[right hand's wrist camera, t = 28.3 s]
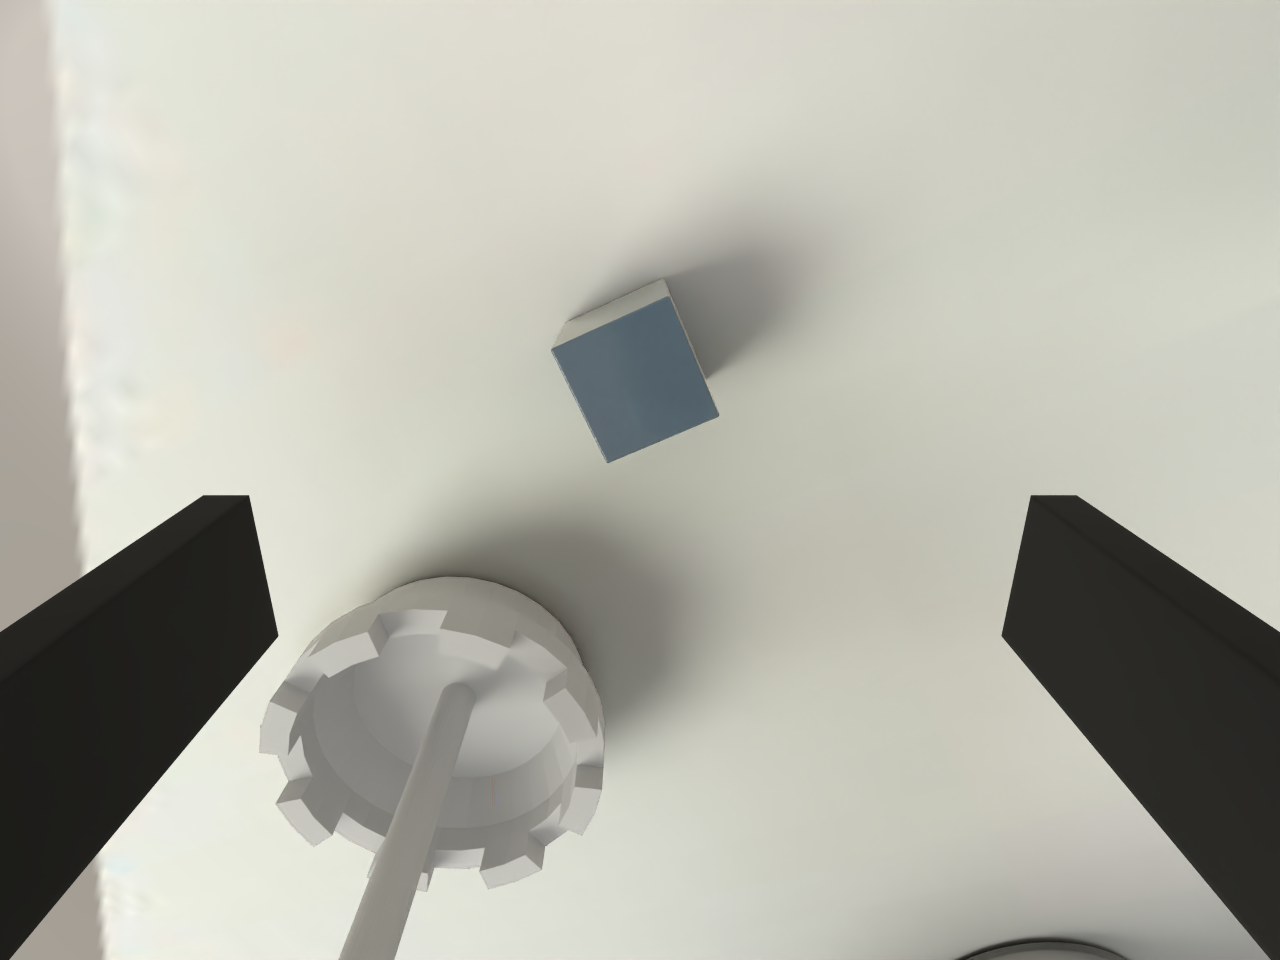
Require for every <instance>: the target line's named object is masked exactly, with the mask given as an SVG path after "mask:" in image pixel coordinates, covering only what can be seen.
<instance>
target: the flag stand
mask: <svg viewBox="0 0 1280 960" xmlns="http://www.w3.org/2000/svg"><path fill="white" fill-rule="evenodd" d="M604 742H605V719H604V715H603V710H602V705H601V701H600V697H599V695H598V693H597V690H596V688H595V686H594V684H593V682H592V680H591V678H590V676H589V673H588V672H587V671H586V669H585V668H584V667H583V666H582V661H581V657H580V655H579V653H578V651H577V649H576V647H575V645H574V642H573V640H572V638H571V637H570V636H569V634H568V633H567V632H566V630H565V629H564V628H563V626H562V625H561V624H560V623H559V621H558V620H557V619H556V618H555V617H553V616H552V615H551V614H550V613H549V612H548V611H547V610H546V609H544V608H543V607H542V606H541V605H540V604H538V603H536V602H535V601H533V600H531V599H530V598H528V597H527V596H525V595H523V594H522V593H520V592H518V591H515V590H513V589H510V588H508V587H505V586H502V585H500V584H497V583H494V582H489V581H485V580H480V579H475V578H469V577H438V578H431V579H424V580H419V581H416V582H413V583H410V584H407V585H404V586H401V587H398V588H396V589H394V590H392V591H390V592H389V593H387V594H385V595H383V596H382V597H380V598H378V599H377V600H376V601H375V602H372V603H369V604H366V605H363V606H360V607H358V608H356V609H354V610H352V611H351V612H349V613H347V614H345V615H344V616H342V617H340V618H338V619H337V620H335V621H333V622H332V623H331V624H330V625H329V626H327V627H326V628H325V629H324V630H323V631H322V632H321V633H320V634H319V635H318V636H316V637H315V638H314V639H313V640H312V641H311V643H310V644H309V645H308V647H307V648H306V650H305V651H304V652H303V654H302V655H301V657H300V658H299V659H298V661H297V662H296V664H295V665H294V667H293V668H292V670H291V671H290V673H289V674H288V676H287V677H286V679H285V680H284V682H283V683H282V684H281V686H280V687H279V689H278V690H277V692H276V693H275V694H274V696H273V697H272V699H271V700H270V701H269V704H268V707H267V710H266V713H265V716H264V719H263V722H262V725H261V732H260V748H259V753H264V754H274V755H278V759H279V761H280V763H281V766H282V768H283V770H284V772H285V775H286V777H287V779H288V783H287V785H286V787H285V788H284V790H283V792H282V794H281V795H280V797H279V799H278V800H277V802H276V805H277V807H278V808H279V809H280V811H281V812H282V814H283V815H284V816H285V818H286V819H287V820H288V822H289V823H290V825H291V826H292V827H293V828H294V829H295V830H296V831H297V832H298V833H299V834H300V835H301V836H302V837H303V838H304V839H306V840H307V841H308V842H309V843H310V844H311V845H312V846H313V847H314V846H316V845H318V844H319V843H321V842H322V841H324V840H325V839H327V838H329V837H330V836H332V835H333V832H334V831H336V832H337V833H339V834H340V835H342V836H343V837H345V838H346V839H347V840H349V841H351V842H353V843H355V844H357V845H359V846H361V847H363V848H365V849H367V850H369V851H372V852H374V853H376V854H375V857H374V859H373V862H372V864H371V867H370V870H369V872H368V875H367V878H370V879H369V882H368V885H367V887H366V890H365V892H364V895H363V898H362V900H361V903H360V905H359V908H358V910H357V913H356V916H355V918H354V921H353V923H352V926H351V929H350V931H349V934H348V936H347V939H346V942H345V944H344V947H343V949H342V952H341V955H340V957H339V960H394V959H395V955H396V952H397V949H398V946H399V943H400V940H401V936H402V933H403V930H404V927H405V924H406V920H407V917H408V914H409V911H410V908H411V904H412V901H413V898H414V895H415V892H416V890H419V891H425V892H427V890H428V887H429V884H430V880H431V877H432V873H433V870H434V868H458V869H466V868H474V867H480V874H481V876H482V878H483V880H484V882H485V884H486V886H487V888H488V889H491V888H494V887H498V886H502V885H506V884H509V883H513V882H516V881H519V880H521V879H523V878H525V877H527V876H530V875H532V874H534V873H536V872H538V871H541V870H542V865H543V857H544V850H545V846H546V845H548V844H549V843H551V842H552V841H553V840H555V839H556V838H558V837H559V836H560V835H562V834H563V833H565V832H566V831H567V830H570V831H572V832H574V833H577V834H579V835H581V836H582V835H583V833H584V831H585V829H586V828H587V826H588V824H589V823H590V821H591V819H592V818H593V816H594V814H595V811H596V808H597V804H598V801H599V798H600V794H601V791H602V779H603V762H604Z"/></svg>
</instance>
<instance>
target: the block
mask: <svg viewBox="0 0 1280 960" xmlns="http://www.w3.org/2000/svg"><path fill="white" fill-rule="evenodd" d="M551 352H552V354H553V356H554V358H555V360H556V362H557V364H558V366H559V368H560V370H561V372H562V374H563V376H564V378H565V380H566V382H567V384H568V386H569V388H570V390H571V392H572V394H573V396H574V398H575V400H576V402H577V404H578V406H579V408H580V410H581V412H582V414H583V416H584V418H585V420H586V422H587V424H588V426H589V428H590V430H591V432H592V434H593V436H594V438H595V440H596V442H597V444H598V446H599V448H600V450H601V452H602V454H603V456H604V459H605V461H606V462H607V463H610V462H612V461H615V460H617V459H619V458H622V457H624V456H626V455H629V454H631V453H634V452H636V451H638V450H641V449H643V448H645V447H648V446H650V445H652V444H655V443H657V442H660V441H662V440H664V439H667V438H669V437H671V436H674V435H676V434H679V433H681V432H683V431H686V430H688V429H690V428H693V427H695V426H698V425H700V424H702V423H705V422H707V421H709V420H712V419H714V418H716V417H718V416H719V412H718V410H717V407H716V404H715V401H714V399H713V396H712V393H711V390H710V388H709V385H708V382H707V379H706V377H705V375H704V372H703V370H702V367H701V365H700V363H699V360H698V358H697V356H696V353H695V351H694V348H693V346H692V344H691V341H690V339H689V337H688V334H687V332H686V329H685V327H684V325H683V322H682V320H681V318H680V315H679V313H678V310H677V308H676V306H675V303H674V301H673V298H672V296H671V294H670V291H669V289H668V287H667V284H666V282H665V279H664V278H662V279H659V280H657V281H655V282H653V283H651V284H648V285H646V286H644V287H642V288H640V289H638V290H635V291H633V292H631V293H629V294H627V295H625V296H622V297H620V298H618V299H616V300H614V301H611V302H609V303H607V304H605V305H603V306H601V307H598V308H596V309H594V310H592V311H590V312H587V313H585V314H583V315H581V316H579V317H577V318H574V319H572V320H570V321H568V322H566V323H565V324H564V326H563V328H562V329H561V331H560V333H559V335H558V337H557V339H556V341H555V343H554V345H553V347H552V349H551Z"/></svg>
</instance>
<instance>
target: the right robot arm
mask: <svg viewBox="0 0 1280 960" xmlns="http://www.w3.org/2000/svg"><path fill="white" fill-rule="evenodd" d="M277 637H278V631H277V627H276V622H275V617H274V612H273V607H272V603H271V598H270V593H269V588H268V584H267V579H266V574H265V569H264V565H263V560H262V555H261V550H260V545H259V541H258V536H257V531H256V526H255V522H254V517H253V512H252V507H251V502H250V498H249V495H203V496H202V497H200V498H199V499H197V500H196V501H194V502H193V503H191V504H190V505H188V506H187V507H185V508H184V509H182V510H181V511H179V512H178V513H177V514H175V515H174V516H172V517H171V518H169V519H168V520H166V521H165V522H163V523H162V524H160V525H159V526H157V527H156V528H154V529H153V530H151V531H150V532H148V533H147V534H145V535H144V536H142V537H141V538H139V539H138V540H136V541H135V542H133V543H132V544H130V545H129V546H128V547H126V548H125V549H123V550H122V551H120V552H119V553H117V554H116V555H114V556H113V557H111V558H110V559H108V560H107V561H105V562H104V563H102V564H101V565H99V566H98V567H96V568H95V569H93V570H92V571H90V572H89V573H87V574H86V575H84V576H83V577H81V578H80V579H79V580H77V581H76V582H74V583H73V584H71V585H70V586H68V587H67V588H65V589H64V590H62V591H61V592H59V593H58V594H56V595H55V596H53V597H52V598H50V599H49V600H47V601H46V602H44V603H43V604H41V605H40V606H38V607H37V608H36V609H34V610H32V611H31V612H29V613H28V614H27V615H25V616H24V617H22V618H21V619H19V620H18V621H16V622H15V623H13V624H12V625H10V626H9V627H7V628H6V629H4V630H3V631H1V632H0V960H9V959H10V958H11V957H12V956H13V955H14V953H15V952H16V951H17V950H18V948H19V947H20V946H21V945H22V944H23V942H24V941H25V940H26V939H27V938H28V936H29V935H30V934H31V933H32V932H33V930H34V929H35V928H36V927H37V926H38V924H39V923H40V922H41V921H42V920H43V918H44V917H45V916H46V915H47V914H48V912H49V911H50V910H51V909H52V908H53V906H54V905H55V904H56V903H57V902H58V900H59V899H60V898H61V897H62V896H63V894H64V893H65V892H66V891H67V890H68V888H69V887H70V886H71V885H72V884H73V882H74V881H75V880H76V879H77V877H78V876H79V875H80V874H81V873H82V872H83V870H84V869H85V868H86V867H87V866H88V864H89V863H90V862H91V861H92V860H93V858H94V857H95V856H96V855H97V854H98V852H99V851H100V850H101V849H102V848H103V846H104V845H105V844H106V843H107V842H108V840H109V839H110V838H111V837H112V836H113V834H114V833H115V832H116V831H117V830H118V828H119V827H120V826H121V825H122V823H123V822H124V821H125V820H126V819H127V817H128V816H129V815H130V814H131V813H132V811H133V810H134V809H135V808H136V807H137V805H138V804H139V803H140V802H141V801H142V799H143V798H144V797H145V796H146V795H147V793H148V792H149V791H150V790H151V789H152V787H153V786H154V785H155V784H156V783H157V781H158V780H159V779H160V778H161V777H162V775H163V774H164V773H165V772H166V771H167V769H168V768H169V767H170V766H171V765H172V763H173V762H174V761H175V760H176V759H177V757H178V756H179V755H180V754H181V753H182V751H183V750H184V749H185V748H186V747H187V745H188V744H189V743H190V742H191V741H192V739H193V738H194V737H195V736H196V735H197V733H198V732H199V731H200V730H201V729H202V727H203V726H204V725H205V724H206V723H207V721H208V720H209V719H210V718H211V717H212V715H213V714H214V713H215V712H216V710H217V709H218V708H219V707H220V706H221V704H222V703H223V702H224V701H225V700H226V698H227V697H228V696H229V695H230V694H231V692H232V691H233V690H234V689H235V688H236V686H237V685H238V684H239V683H240V682H241V680H242V679H243V678H244V677H245V676H246V674H247V673H248V672H249V671H250V670H251V668H252V667H253V666H254V665H255V664H256V662H257V661H258V660H259V659H260V658H261V656H262V655H263V654H264V653H265V652H266V650H267V649H268V648H269V647H270V646H271V644H272V643H273V642H274V641H275V640H276V638H277ZM1002 637H1003V638H1004V640H1005V641H1006V642H1007V643H1008V644H1009V646H1010V647H1011V648H1012V649H1013V650H1014V652H1015V653H1016V654H1017V655H1018V656H1019V658H1020V659H1021V660H1022V661H1023V662H1024V664H1025V665H1026V666H1027V667H1028V668H1029V670H1030V671H1031V672H1032V673H1033V674H1034V676H1035V677H1036V678H1037V679H1038V680H1039V682H1040V683H1041V684H1042V685H1043V686H1044V688H1045V689H1046V690H1047V691H1048V692H1049V694H1050V695H1051V696H1052V697H1053V698H1054V700H1055V701H1056V702H1057V703H1058V704H1059V706H1060V707H1061V708H1062V709H1063V710H1064V712H1065V713H1066V714H1067V715H1068V717H1069V718H1070V719H1071V720H1072V721H1073V723H1074V724H1075V725H1076V726H1077V727H1078V729H1079V730H1080V731H1081V732H1082V733H1083V735H1084V736H1085V737H1086V738H1087V739H1088V741H1089V742H1090V743H1091V744H1092V745H1093V747H1094V748H1095V749H1096V750H1097V751H1098V753H1099V754H1100V755H1101V756H1102V757H1103V759H1104V760H1105V761H1106V762H1107V763H1108V765H1109V766H1110V767H1111V768H1112V769H1113V771H1114V772H1115V773H1116V774H1117V775H1118V777H1119V778H1120V779H1121V780H1122V781H1123V783H1124V784H1125V785H1126V786H1127V787H1128V789H1129V790H1130V791H1131V792H1132V793H1133V795H1134V796H1135V797H1136V798H1137V799H1138V801H1139V802H1140V803H1141V804H1142V805H1143V807H1144V808H1145V809H1146V810H1147V811H1148V813H1149V814H1150V815H1151V816H1152V817H1153V819H1154V820H1155V821H1156V822H1157V823H1158V825H1159V826H1160V827H1161V828H1162V830H1163V831H1164V832H1165V833H1166V834H1167V836H1168V837H1169V838H1170V839H1171V840H1172V842H1173V843H1174V844H1175V845H1176V846H1177V848H1178V849H1179V850H1180V851H1181V852H1182V854H1183V855H1184V856H1185V857H1186V858H1187V860H1188V861H1189V862H1190V863H1191V864H1192V866H1193V867H1194V868H1195V869H1196V870H1197V872H1198V873H1199V874H1200V875H1201V876H1202V878H1203V879H1204V880H1205V881H1206V882H1207V884H1208V885H1209V886H1210V887H1211V888H1212V890H1213V891H1214V892H1215V893H1216V894H1217V896H1218V897H1219V898H1220V899H1221V900H1222V902H1223V903H1224V904H1225V905H1226V906H1227V908H1228V909H1229V910H1230V911H1231V912H1232V914H1233V915H1234V916H1235V917H1236V918H1237V920H1238V921H1239V922H1240V923H1241V924H1242V926H1243V927H1244V928H1245V929H1246V930H1247V932H1248V933H1249V934H1250V935H1251V936H1252V938H1253V939H1254V940H1255V941H1256V942H1257V944H1258V945H1259V946H1260V947H1261V949H1262V950H1263V951H1264V952H1265V953H1266V955H1267V956H1268V957H1269V958H1270V959H1271V960H1280V632H1279V631H1277V630H1276V629H1274V628H1273V627H1271V626H1270V625H1268V624H1267V623H1265V622H1264V621H1262V620H1261V619H1259V618H1258V617H1256V616H1255V615H1253V614H1252V613H1251V612H1249V611H1248V610H1246V609H1245V608H1243V607H1242V606H1240V605H1239V604H1237V603H1236V602H1234V601H1233V600H1231V599H1230V598H1228V597H1227V596H1225V595H1224V594H1222V593H1221V592H1219V591H1218V590H1216V589H1215V588H1213V587H1212V586H1210V585H1209V584H1207V583H1206V582H1204V581H1203V580H1201V579H1200V578H1199V577H1197V576H1196V575H1194V574H1193V573H1191V572H1190V571H1188V570H1187V569H1185V568H1184V567H1182V566H1181V565H1179V564H1178V563H1176V562H1175V561H1173V560H1172V559H1170V558H1169V557H1167V556H1166V555H1164V554H1163V553H1161V552H1160V551H1158V550H1157V549H1155V548H1154V547H1152V546H1151V545H1150V544H1148V543H1147V542H1145V541H1144V540H1142V539H1141V538H1139V537H1138V536H1136V535H1135V534H1133V533H1132V532H1130V531H1129V530H1127V529H1126V528H1124V527H1123V526H1121V525H1120V524H1118V523H1117V522H1115V521H1114V520H1112V519H1111V518H1109V517H1108V516H1106V515H1105V514H1103V513H1102V512H1101V511H1099V510H1098V509H1096V508H1095V507H1093V506H1092V505H1090V504H1089V503H1087V502H1086V501H1084V500H1083V499H1081V498H1080V497H1078V496H1077V495H1031V498H1030V502H1029V507H1028V512H1027V517H1026V522H1025V526H1024V531H1023V536H1022V541H1021V545H1020V550H1019V555H1018V560H1017V564H1016V569H1015V574H1014V579H1013V584H1012V588H1011V593H1010V598H1009V603H1008V607H1007V612H1006V617H1005V622H1004V627H1003V631H1002ZM966 960H1125V959H1123V958H1121V957H1120V956H1117V955H1115V954H1113V953H1111V952H1108V951H1105V950H1102V949H1099V948H1095V947H1091V946H1087V945H1080V944H1074V943H1062V942H1039V943H1027V944H1019V945H1013V946H1008V947H1003V948H999V949H995V950H991V951H988V952H985V953H982V954H979V955H976V956H973V957H971V958H968V959H966Z"/></svg>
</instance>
